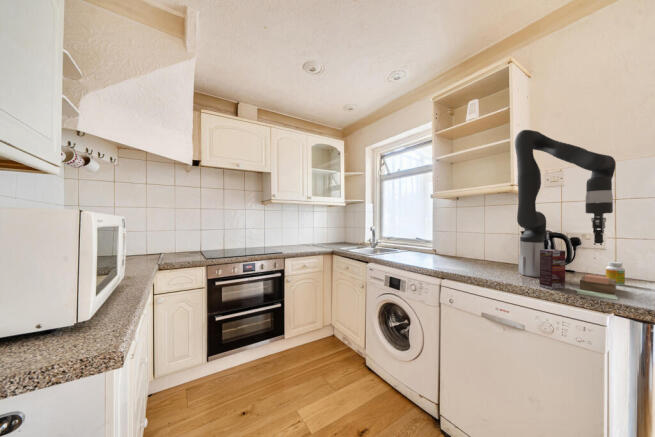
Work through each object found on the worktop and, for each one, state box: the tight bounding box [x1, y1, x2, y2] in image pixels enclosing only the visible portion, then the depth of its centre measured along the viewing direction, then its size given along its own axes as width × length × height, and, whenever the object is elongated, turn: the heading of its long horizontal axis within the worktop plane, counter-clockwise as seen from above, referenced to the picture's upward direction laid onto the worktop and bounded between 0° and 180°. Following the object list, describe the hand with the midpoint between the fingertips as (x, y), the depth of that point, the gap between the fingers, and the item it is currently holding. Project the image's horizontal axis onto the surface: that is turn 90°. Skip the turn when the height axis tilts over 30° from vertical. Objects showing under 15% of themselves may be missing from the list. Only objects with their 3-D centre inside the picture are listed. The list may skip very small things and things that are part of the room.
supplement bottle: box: [605, 261, 626, 286], centre depth 106 cm, size 5×5×10 cm
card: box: [585, 273, 609, 284], centre depth 94 cm, size 5×6×2 cm
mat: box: [576, 288, 619, 301], centre depth 90 cm, size 10×7×1 cm
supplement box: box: [538, 248, 567, 290], centre depth 100 cm, size 9×5×16 cm, turn 106°
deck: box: [579, 274, 617, 295], centre depth 97 cm, size 14×9×4 cm, turn 128°
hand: (598, 243), depth 99 cm, fingers closed
